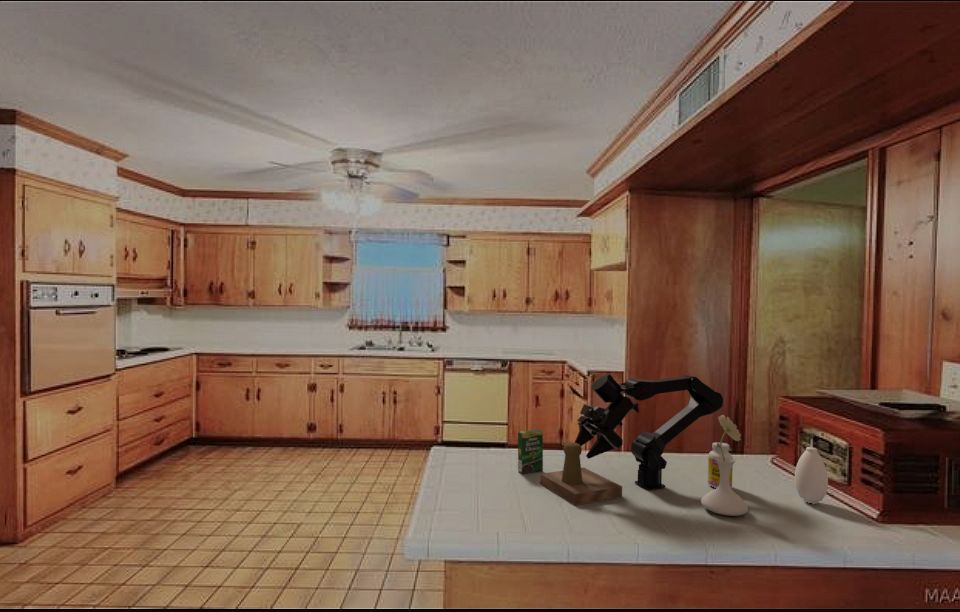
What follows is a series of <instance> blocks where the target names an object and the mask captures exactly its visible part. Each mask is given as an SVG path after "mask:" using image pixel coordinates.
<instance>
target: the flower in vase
mask: <svg viewBox="0 0 960 612" xmlns="http://www.w3.org/2000/svg"><path fill="white" fill-rule="evenodd" d="M717 418H718V421H719V425H720V426H721V427H722V429H723V430H724V432H723V434H722V436H721V439H720V444H719V443H718V441H716V442H717V445H716V446H717V447H719V448H720V449H721V452H722V456H723V457H715V460H716V461H717V463H718V465H719V470H720V484H719V486H718V487H717V488H716V489H715V488H713V490H712V491H709V492H707V493H706V494H705V495H704V496H702V497H701V499H700V503H701V504H702V506H703V507H704V508H705V509H707V510H708V511H710V512H712V513H715V514H719V515H723V516H730V517H735V516H742V515H745V514H747V512H748V511H749V507H748V504H747V503H746V502H745V500H744V499H742V497H740V496H739V495H738V494H737V493H736V492H735V491H734V490H733V489H732V488H731V487H730V484H729V477H730V470H731V467H732V465H734V464H735V463H736V460H735V459H734V458H733V459H732V458H728V457H724V454H723V453H726V452H728V451H729V452H731V451H732V450H733V448H731V447H730V449H729V450H728V451H725V452H723V451H722V445H721V444H722V443H723V439H724V437H725V434H727V436H729V437H730V438H731V439H732V440H733V441H736V442H740V441H742V439H741V437H742V434H741V432H740V431H739V429H738V426H737V424H735V423H734V422H733V421H732V420H731V418H730V417H729V416H725V415H724V414H722V415H719V416H718V417H717Z"/></svg>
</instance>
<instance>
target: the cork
mask: <svg viewBox="0 0 960 612" xmlns="http://www.w3.org/2000/svg"><path fill="white" fill-rule="evenodd" d="M582 449H583V448H582V446H580V444H578V443H574V442H572V441H571V442H566V443H564V445H563V453H564V461H563V468H562V469H563V470H562V471H563V474H562V482H563V483H565V484H570V485H579V484H582V483H583V481H582V472H581V468H582V464H581V457H580V455H581V454H582Z"/></svg>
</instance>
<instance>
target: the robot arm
mask: <svg viewBox="0 0 960 612" xmlns="http://www.w3.org/2000/svg"><path fill="white" fill-rule="evenodd" d="M591 390H592V391H593V392H594V393H595V394H596V395H597V396H598V397H599V398H600V399H601V400H602V401H603V402H604V403H605V404H606V403H607V404H608V403H609V404H608V405H607V407H605V408H604V407H600V406H598V405H596V406H593V407H592V406H590V405H587V404H585V403H584V404H583V405H582V408H581V410H580V413H579V414H581V415H580V417H579V418H578V419H577V425H578V433H577V436H576V438H575V440H574V442H573V443H578V444H580V446H581V447H583V446H584V445H585V444H587V443H588V442H590V441H591V440H593V439H594V438H595V436H596V440H595V442H594V443H593V445H592V447H590V449H589V450H588V451H587V454H586V455H585V456H586V458H587V459H588V460H589V459H591V458H594V457H596V456H599V455H601V454H604V453H606V452H609V451H612V450H613V451H614V450H616V449H617V450H619V449H620V448H621V447H622V446H623V445H624V440H623V438H622V437H621V436H620V435H619V434H618V433H616V431H615V429H616V428H617V427H618V426H619V427H622V426H623V424H624V423H623V422H622V421H623V420H624V419H625V418H626V417H627V416H628V414H630V412H634V413H637V414H638V413H640V409H639V403H638V402H635V401H634V402H633V400H637V401H641V402H642V401H646V400H648V399H651V398H653V397H654V396H656V395H659V394H667V393H673V392H681V391H686V392H687V394H688V395H690V399H689V402H688V405H687V406H685V407H684V408H683V409H681V410H680V411H679V412H678V413H677V414H675V415H674V416H673V417H672V418H671V419H669V420H667V421H666V422H665V423H664V424H663V425H661V426H660V427H659V428H657V429H656V430H655V431H654V432H651V433H650V432H648V431H645V430H643V431H642V432H641V433H640V434H639V435H638V436H636V437H634V438H633V441H632V443H631V447H630V451H631V454H632V455H633V456H634V458H635V461H636V462H637V463H639V464H638V470H637V480H635V481H634V484H636V485H637V486H640V487H642V488H645V489H647V490H649V491H651V490H656V489H657V490H658V489H662V487H663V488H666V484H663V483H662V479H663V478H662V477H663V476H662V473H663V470H665V469H666V467H667V464H668V461H667V460H666V459H665V458H664V457H663V456H662V455H663V454H664V450H665V448H666V446H667V445H668V444H669V443H670V442H671V441H672V440H674V439H675V438H677V437H678V436H679V435H680V434H681V433H682V432H684V431H685V430H686V429H688V428H689V426H691V425H692V424H694V423H695V422H697V420H699V419H700V418H702V417H704V416H709V415H711V414H714V413H717V412H718V411H719V410H721V409H722V407H723V405H724V398H723V395H722V394H721V393H720V392H718V391H715V390H714V389H712V388H711V387H710V386H708V385H707V384H706V383H704V382H703V381H701V380H700V378H698V377H697V376H694V375H693V376H692V375H689V374H686V375H683V376H675V377H667V378H660V379H659V378H658V379H652V380H651V379H643V378H642V379H641V378H627V379H625V381H624V382H621V383H618V382H617V381H616V380H615V379H614V377H613V376H612V375H611V374H610V373H606V374H604V375H602V376H601V377H599V378H597V379H595V380H594V381H593V383H592V384H591ZM624 395H625V396H624ZM632 399H633V400H632Z"/></svg>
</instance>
